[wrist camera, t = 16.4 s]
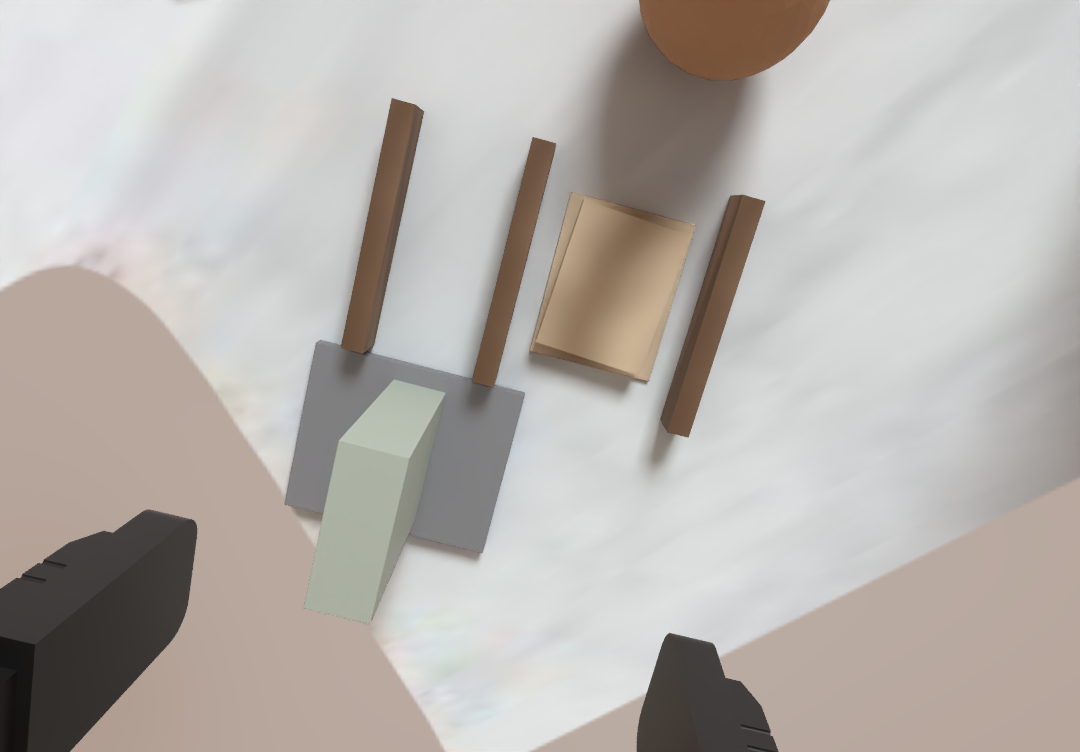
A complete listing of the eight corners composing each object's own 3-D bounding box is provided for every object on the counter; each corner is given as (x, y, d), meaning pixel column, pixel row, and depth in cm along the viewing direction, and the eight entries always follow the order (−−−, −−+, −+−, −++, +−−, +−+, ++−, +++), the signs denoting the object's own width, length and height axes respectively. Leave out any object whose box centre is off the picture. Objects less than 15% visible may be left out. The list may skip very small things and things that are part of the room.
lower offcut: (691, 224, 40) (695, 225, 39) (645, 376, 42) (648, 381, 41) (570, 192, 40) (571, 191, 39) (530, 346, 42) (529, 350, 41)
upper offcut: (686, 235, 39) (691, 236, 38) (636, 371, 41) (638, 376, 40) (583, 199, 39) (584, 199, 38) (535, 338, 41) (535, 342, 39)
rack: (751, 201, 39) (765, 201, 36) (680, 424, 42) (688, 437, 39) (401, 105, 38) (391, 98, 36) (353, 339, 41) (340, 348, 38)
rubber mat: (524, 392, 41) (524, 396, 41) (483, 546, 44) (482, 553, 43) (320, 340, 41) (316, 342, 40) (289, 498, 43) (284, 504, 42)
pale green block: (445, 392, 41) (409, 458, 30) (414, 519, 42) (370, 624, 32) (394, 379, 41) (338, 440, 30) (365, 507, 42) (303, 608, 32)
